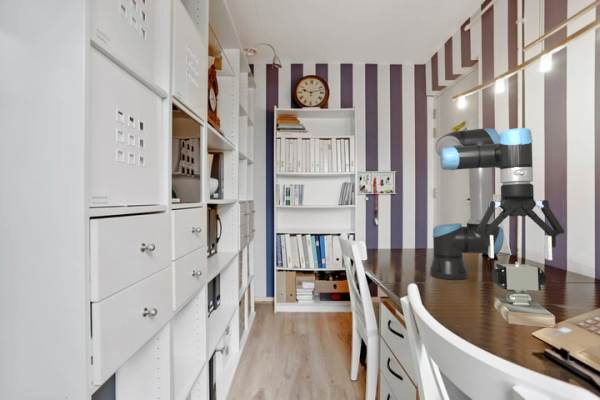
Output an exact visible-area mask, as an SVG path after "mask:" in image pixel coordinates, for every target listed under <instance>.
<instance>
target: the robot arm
mask: <svg viewBox="0 0 600 400" xmlns="http://www.w3.org/2000/svg"><path fill="white" fill-rule="evenodd" d="M435 152H436V153H437V155H438V156H439V157H440V159H439V160H440V168H441V169H442V170H443V171H447V170H448V171H455V170H468V178H469V179H468V181H469V211H470V213H469V215H470V219H469V220H467V222H466V226H463V225H462V223H461V222H460V223H459V222H458V223H456V222H455V223H447V224H440V225H439V224H438V225H436V226H434V228H433V230H432V240H433V243H432V245H433V260H432V263H431V266H430V269H429V275H430V276H431V275H432V276H431V277H433V276H434V278H438V279H444V280H466V279H468V277H469V274H468V270H467V267H466V265H465V262H464V258H463V257H464V256H463V254H485V255H488V257H489V258H490V259H494V258H495V255H496V254H498V253H500V252H501V251H502V248H503V246H504V245H503V244H504V240H505V239H504V238H505V234H504V228H503V227H502V226H500V224H501V223H502V222H503V221H504V220H505V219H507V218H508V217H526V216H527V217H529V219H531V220H532V221H533V222H534V223H535V224H536V225H537V226H538V227H540V229H541V230H542V231H544V233H546V234H544V235H543V254H544V259H545V260H548V261H553V248H556V247H557V245H556V244H557V242H556V241H557V240H556V237H557V236H558V235H561V234H564V233H565V229H564V228H563V226H562V225H561V223H560V222H559V220H558V219H557V218H556V216H555V214H554V213H553V211H552V210H551V208H550V203H549V200H547V199H540V200H537V201H536V200H535V199H534V194H535V193H534V191H535V190H534V184H533V183H532V182H533V181H534V175H533V174H534V169H533V165H534V164H533V138H532V131H531V129H530V128H527V127H518V128H517V127H515V128H509V129H506V130H502V131H501V132H500V133H498V131H497V130H496V129H495V128H489V127H487V128H475V129H474V128H473V129H469V130H468V129H467V130H457V131H456V130H455V131H451V132H449V133H446V134H444V135H443V136H441V137H440V138H438V140H437V141H436V144H435ZM493 168H496V169H500V170H499V172H500V183H501V184H502V185H501V186H500V201H494V193H493V191H494V190H493V187H494V186H493ZM536 206H537V208H538V209H540V211H541V212H542V213H543V215H544V217H545V218H546V220H547V221H548V223H549V224H550V226H551V227H550V226H549V225H548V224H547V222H546V221H544V220H543V218H541V217H540V216H539V215H538V214H537V213H536V212H535V210H533V209H534V208H536ZM498 207H500V208H501V210H502V211H501V212H500V213H498V216H497V217H496V218H494V212H495V210H497V209H498Z"/></svg>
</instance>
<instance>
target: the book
mask: <svg viewBox="0 0 600 400" xmlns="http://www.w3.org/2000/svg"><path fill="white" fill-rule="evenodd" d="M493 306H494V308H495V309H496V310H497V312H498V313H499V314H500V315H501V316H502V318H503V320H505V321H506V322H507V324H508V325H509V324H510V325H520V326H530V327H537V328H538V327H540V328H548V327H549V326H553V325H555V326H556V316H555V315H554V314H553V313H551V312H550V311H548V310H547V309H546V308H545V307H543V306H542V305H540V304H539V303H538V302H537V301H535V300H534V299H532V298H531V303H529V306H515V305H513V304H512V303H510V302H508V301H507V298H506V296H494V297H493Z"/></svg>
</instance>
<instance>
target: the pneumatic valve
mask: <svg viewBox="0 0 600 400" xmlns="http://www.w3.org/2000/svg"><path fill="white" fill-rule="evenodd" d="M491 279H492V281H493V283H494V284H495V285H496V286H497V287H499V288H501V289H503V290H506V291H507V290H508V291H507V294H506V296H505V297H506V298H507V301H508V302H510V303H512V304H513V305H515V306H529V303H531V299H532V298H531V295H530V294H528V293H527V292H528V291H542V287H543V286H545V285H546V284H547V277H546V273H545V271H544V270H543V269H541V267H539V266H535V265H533V264H523V263H522V264H521V263H520V261H515V262H514V263H513V264H512V263H506V264H504V263H496V265H495V267H494V268H492V270H491Z"/></svg>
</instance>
